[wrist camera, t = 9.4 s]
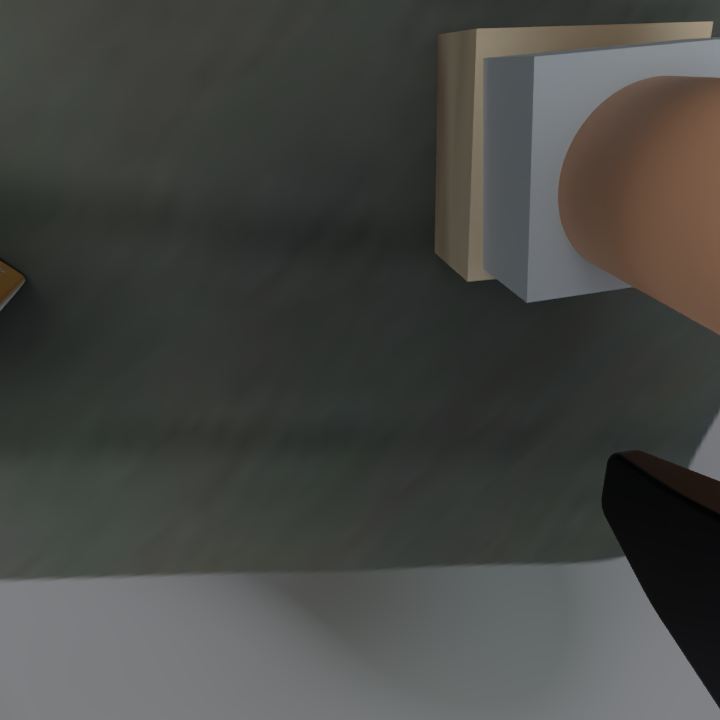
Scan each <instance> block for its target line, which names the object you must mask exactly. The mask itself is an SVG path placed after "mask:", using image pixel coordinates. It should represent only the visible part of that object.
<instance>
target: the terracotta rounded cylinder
mask: <svg viewBox="0 0 720 720" xmlns="http://www.w3.org/2000/svg"><path fill="white" fill-rule="evenodd" d="M558 207H559V214H560V219H561V223H562V226H563V229H564V231H565V234H566V236H567V238H568V239H569V241H570V243H571V244H572V246H573V247H574V248H575V249H576V251H577V252H578V253H579V254H580V255H581V256H582V257H583V258H584V259H586V260H587V261H589V262H590V263H592V264H593V265H595V266H597V267H598V268H600V269H602V270H604V271H606V272H607V273H609V274H611V275H613V276H615V277H616V278H618V279H620V280H622V281H624V282H625V283H627V284H629V285H631V286H633V287H634V288H636V289H638V290H640V291H642V292H643V293H645V294H647V295H649V296H651V297H652V298H654V299H656V300H658V301H660V302H661V303H663V304H665V305H667V306H669V307H670V308H672V309H674V310H676V311H678V312H679V313H681V314H683V315H685V316H686V317H688V318H690V319H692V320H694V321H695V322H697V323H699V324H701V325H703V326H704V327H706V328H708V329H710V330H712V331H713V332H715V333H717V334H719V335H720V78H716V77H689V76H657V77H650V78H647V79H643V80H640V81H637V82H635V83H632V84H630V85H628V86H625V87H624V88H622V89H620V90H619V91H617V92H616V93H614V94H613V95H611V96H610V97H609V98H607V99H606V100H605V101H604V102H602V103H601V104H600V105H599V106H598V107H597V108H596V109H595V110H594V111H593V112H592V113H591V114H590V116H589V117H588V118H587V119H586V121H585V122H584V123H583V124H582V126H581V127H580V129H579V130H578V132H577V133H576V135H575V137H574V139H573V141H572V143H571V145H570V147H569V149H568V151H567V154H566V156H565V159H564V162H563V165H562V169H561V173H560V179H559V186H558Z"/></svg>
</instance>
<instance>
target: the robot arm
mask: <svg viewBox="0 0 720 720" xmlns="http://www.w3.org/2000/svg"><path fill="white" fill-rule="evenodd" d="M602 509H603V512H604V515H605V517H606V519H607V521H608V523H609V525H610V527H611V529H612V531H613V533H614V535H615V537H616V538H617V540H618V542H619V544H620V546H621V548H622V550H623V552H624V554H625V556H626V558H627V560H628V561H629V563H630V565H631V567H632V569H633V571H634V573H635V575H636V577H637V578H638V581H639V582H640V584H641V586H642V588H643V590H644V592H645V593H646V595H647V597H648V599H649V601H650V603H651V604H652V606H653V607H654V609H655V611H656V612H657V614H658V615H659V617H660V619H661V620H662V622H663V623H664V625H665V626H666V628H667V629H668V630H669V632H670V634H671V635H672V637H673V638H674V640H675V641H676V643H677V645H678V646H679V648H680V649H681V651H682V652H683V653H684V655H685V656H686V658H687V660H688V661H689V663H690V664H691V666H692V667H693V669H694V670H695V672H696V673H697V675H698V676H699V678H700V679H701V681H702V682H703V684H704V685H705V687H706V689H707V690H708V691H709V693H710V695H711V696H712V698H713V699H714V701H715V702H716V704H717V705H718V707H719V708H720V481H717V480H715V479H712V478H710V477H707V476H704V475H702V474H699V473H697V472H694V471H691V470H689V469H686V468H684V467H681V466H679V465H676V464H673V463H671V462H668V461H666V460H663V459H660V458H658V457H655V456H653V455H650V454H647V453H645V452H642V451H638V450H633V451H626V452H618V453H614V454H612V455H611V456H610V457H609V459H608V462H607V467H606V474H605V480H604V486H603V492H602Z"/></svg>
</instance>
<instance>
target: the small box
mask: <svg viewBox="0 0 720 720" xmlns="http://www.w3.org/2000/svg"><path fill="white" fill-rule="evenodd" d="M24 282H25V278H24V276H23V275H22V274H20V273H19V272H17V271H16V270H14V269H13V268H11V267H9V266H8V265H6V264H5V263H3V262H2V261H0V311H1V310H2V309H3V308H4V306H5V305H6V304H7V303H8V302H9V301H10V299H11V298H12V297H13V296H14V295H15V293H16V292H17V291H18V290H19V289H20V287H21V286H22V285H23V284H24Z"/></svg>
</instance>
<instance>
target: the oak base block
mask: <svg viewBox="0 0 720 720" xmlns="http://www.w3.org/2000/svg"><path fill="white" fill-rule="evenodd" d="M712 26H713V21H710V22H677V23H645V24H612V25H580V26H547V27H515V28H482V29H471V30H464V31H458V32H451V33H444V34H438V59H437V128H436V197H435V253H436V254H437V255H438V256H439V257H440V258H441V259H442V260H443V261H445V262H446V263H447V264H448V265H449V266H450V267H451V268H453V269H454V270H455V271H456V272H457V273H458V274H459V275H460V276H462V277H463V278H464V279H465V280H466V281H467V282H470V281H480V280H491V279H496V278H494V277H493V276H492V275H491V274H489V273H488V272H487V271H486V270H484V269H483V58H488V57H499V56H510V55H520V54H531V53H542V52H552V51H563V50H574V49H584V48H595V47H606V46H617V45H627V44H638V43H649V42H659V41H670V40H681V39H697V38H711V32H712Z"/></svg>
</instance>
